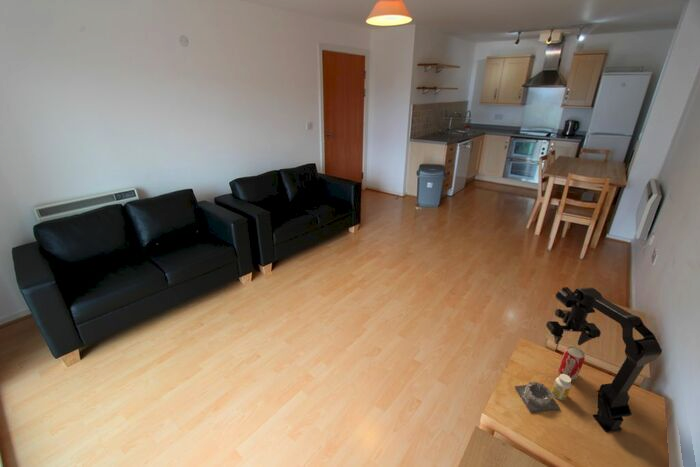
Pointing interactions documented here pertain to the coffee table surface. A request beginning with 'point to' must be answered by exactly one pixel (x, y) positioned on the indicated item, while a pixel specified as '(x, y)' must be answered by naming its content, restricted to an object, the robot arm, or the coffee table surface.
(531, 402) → the collar
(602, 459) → the coffee table surface
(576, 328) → the robot arm
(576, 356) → the soda can
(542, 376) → the coffee table surface
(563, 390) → the supplement bottle
